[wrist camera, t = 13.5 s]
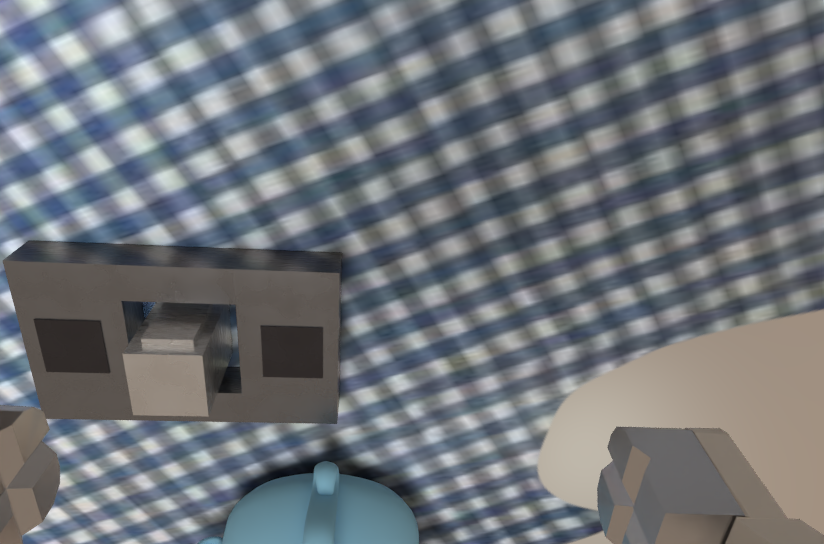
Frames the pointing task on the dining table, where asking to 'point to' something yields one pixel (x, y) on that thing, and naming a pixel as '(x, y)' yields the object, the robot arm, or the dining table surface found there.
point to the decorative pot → (320, 512)
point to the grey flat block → (179, 283)
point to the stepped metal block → (178, 359)
